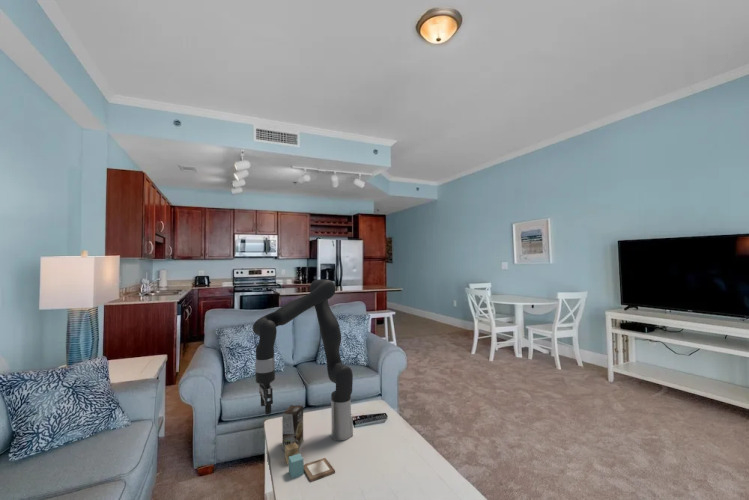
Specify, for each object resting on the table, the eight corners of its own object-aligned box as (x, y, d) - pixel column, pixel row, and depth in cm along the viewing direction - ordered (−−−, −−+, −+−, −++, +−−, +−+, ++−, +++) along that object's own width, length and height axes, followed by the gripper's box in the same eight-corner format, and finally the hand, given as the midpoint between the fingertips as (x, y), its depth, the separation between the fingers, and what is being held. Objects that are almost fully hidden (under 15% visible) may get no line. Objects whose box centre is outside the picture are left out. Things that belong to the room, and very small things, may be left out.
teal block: (299, 468, 133) (299, 453, 134) (303, 474, 130) (303, 458, 130) (288, 472, 131) (288, 456, 131) (292, 478, 127) (292, 462, 127)
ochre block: (295, 456, 142) (295, 442, 142) (298, 462, 138) (298, 447, 138) (284, 460, 139) (284, 445, 140) (288, 465, 135) (287, 450, 136)
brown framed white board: (325, 460, 139) (325, 457, 139) (335, 473, 130) (335, 470, 130) (301, 468, 134) (301, 465, 134) (310, 482, 125) (310, 479, 125)
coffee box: (295, 452, 145) (295, 414, 145) (281, 450, 146) (281, 413, 147) (304, 440, 154) (303, 405, 154) (291, 439, 155) (290, 404, 156)
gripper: (279, 372, 130) (279, 414, 130) (270, 362, 142) (271, 401, 142) (259, 376, 126) (259, 419, 126) (252, 366, 139) (252, 405, 138)
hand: (265, 409), depth 134 cm, fingers open, 8 cm apart
